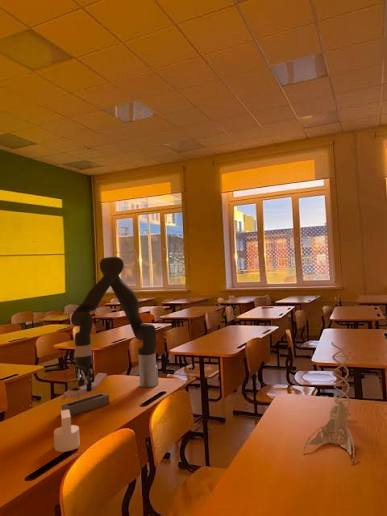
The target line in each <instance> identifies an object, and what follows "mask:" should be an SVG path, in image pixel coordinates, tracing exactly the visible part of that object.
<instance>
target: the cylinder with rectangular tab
mask: <svg viewBox="0 0 387 516" xmlns="http://www.w3.org/2000/svg"><path fill="white" fill-rule="evenodd" d="M60 416H61V417H60V419H61V426H60V427H57V428H55V429H54V431H53V439H54V440H53V441H54V442H53V444H54V445H53V446H54V450H55V451H56V452H62V453H64V452H70V451H74V450H75V449H77V448H78V447H80V445H81V444H80V443H81V442H80V441H81V439H80V427H79V426H78V425H75V424H72V416H70V411H69V409H68V410H62V409H61V410H60Z"/></svg>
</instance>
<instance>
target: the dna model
mask: <svg viewBox="0 0 387 516" xmlns="http://www.w3.org/2000/svg"><path fill="white" fill-rule="evenodd" d="M331 345H332V346H333V347H334V348H336V349H338V350H339V351H337V352H336V353H334V354H333V355H332V360H333V361H335V362H336V363H338V364H340V366H337V367H336V368H334V369H333V370H332V372H333V374H334V375H335V376H337V377H338V378H340V379H341V380H340V381H338V382H336V383H335V384H333V388H334V389H335V390H337V391H339V392H340V393H341V394H342V395H340V396H338V397H337V398H335V399H333V400H334V402H335V404H337V405H339V404H338V402H339V400H340V401H343V402H344V401H345V402H348V403H347V406H345V407H346V408H347V409H348V408H349V407H350V405H351V399H350V397H349V396H348V395H347V394H348V393H349V392H350V385H349V383H348V381H346V379H347V378H348V376H349V375H350V374H349V371H350V370H349V369H348V368H347V366H346V365H345V364H346V363H347V362H348V359H349V358H348V356H349V355H347V353H346V352H345V351H344V350H345V349H346V348H347V346H348V342H347V341H345V345H344V347H343V348H342V347H339V346H337V345H336V344H334V342H333V341H331ZM340 353H343V354H344V355H340V356H339V354H340ZM339 357H340V358H343V357H344V358H345V360H344V362H342V361H339V360H338V359H336V358H339ZM342 367H343V368H344V370H345V372H346V375H345V377H343V376H341V375H339V374H338V373H336V372H340V370H339V369H341V368H342ZM342 382H345V384H342V385H341V383H342ZM343 386H344V387H346V386H347V390H346V392H344V391H343V390H341V389H339V388H337V387H343ZM344 396H345V397H346V398H347V399H342V400H341V398H342V397H344ZM346 411H347V410H346ZM348 411H349V410H348ZM348 411H347V412H348ZM349 413H350V414H351V412H350V411H349Z"/></svg>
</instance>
